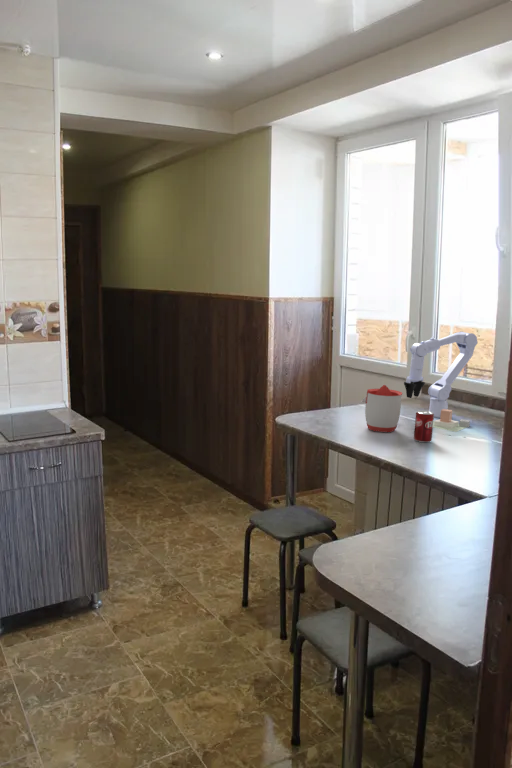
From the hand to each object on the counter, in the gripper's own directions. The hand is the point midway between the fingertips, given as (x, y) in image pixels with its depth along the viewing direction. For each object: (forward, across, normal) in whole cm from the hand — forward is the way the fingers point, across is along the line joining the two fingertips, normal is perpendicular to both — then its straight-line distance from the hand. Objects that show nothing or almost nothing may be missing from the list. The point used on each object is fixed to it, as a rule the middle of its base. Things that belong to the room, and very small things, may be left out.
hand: (412, 396), depth 307 cm
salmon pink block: (+7, +5, +20) cm, 21 cm away
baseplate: (+10, +4, +20) cm, 23 cm away
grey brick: (+9, -1, +26) cm, 28 cm away
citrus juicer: (+12, +31, 0) cm, 33 cm away
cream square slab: (+9, +5, +20) cm, 22 cm away
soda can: (+12, +34, +22) cm, 43 cm away
